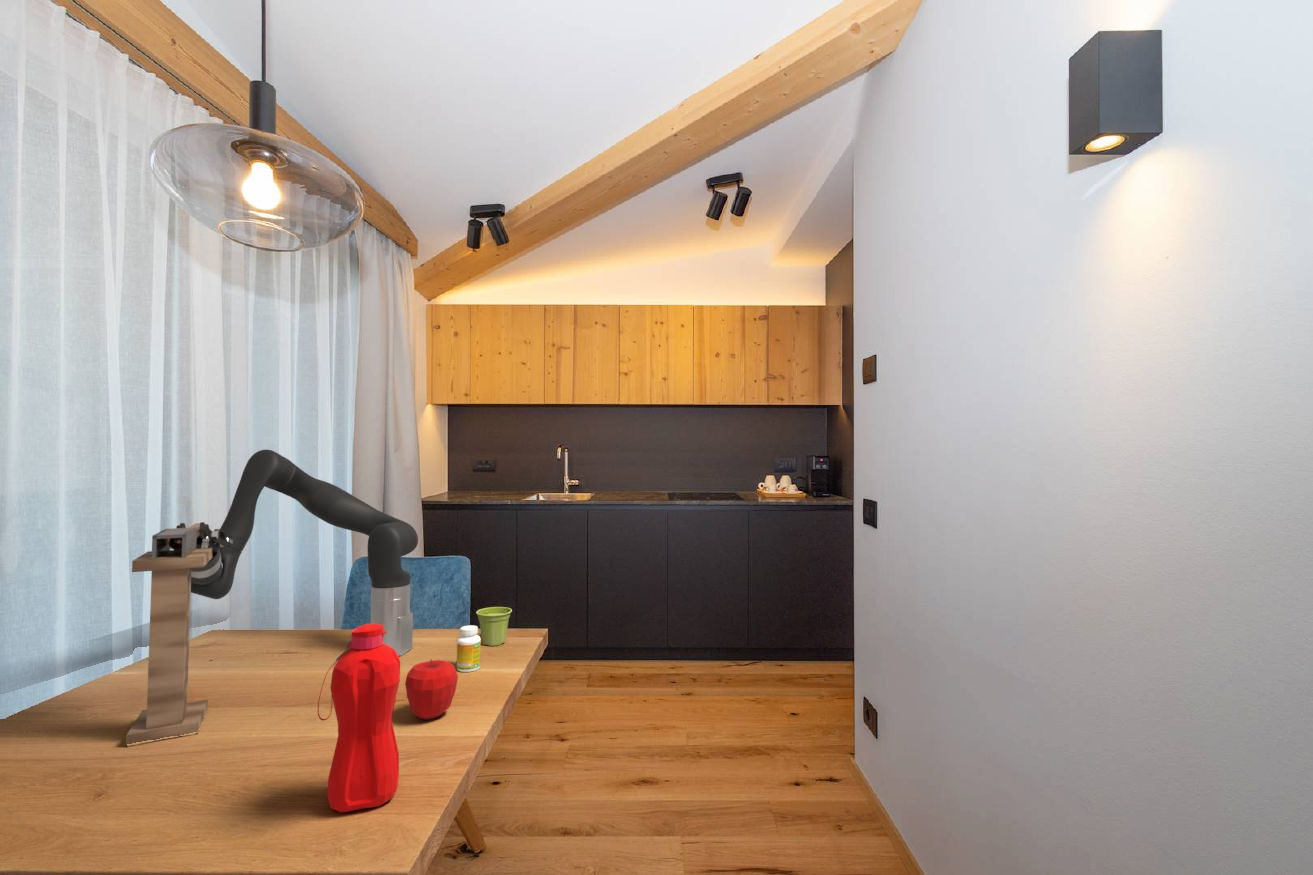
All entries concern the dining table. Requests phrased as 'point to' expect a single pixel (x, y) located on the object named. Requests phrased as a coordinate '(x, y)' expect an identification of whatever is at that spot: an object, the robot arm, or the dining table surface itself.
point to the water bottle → (364, 722)
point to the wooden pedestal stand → (169, 647)
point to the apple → (431, 688)
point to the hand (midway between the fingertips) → (191, 526)
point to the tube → (177, 542)
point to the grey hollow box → (162, 538)
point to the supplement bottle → (468, 649)
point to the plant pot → (493, 624)
